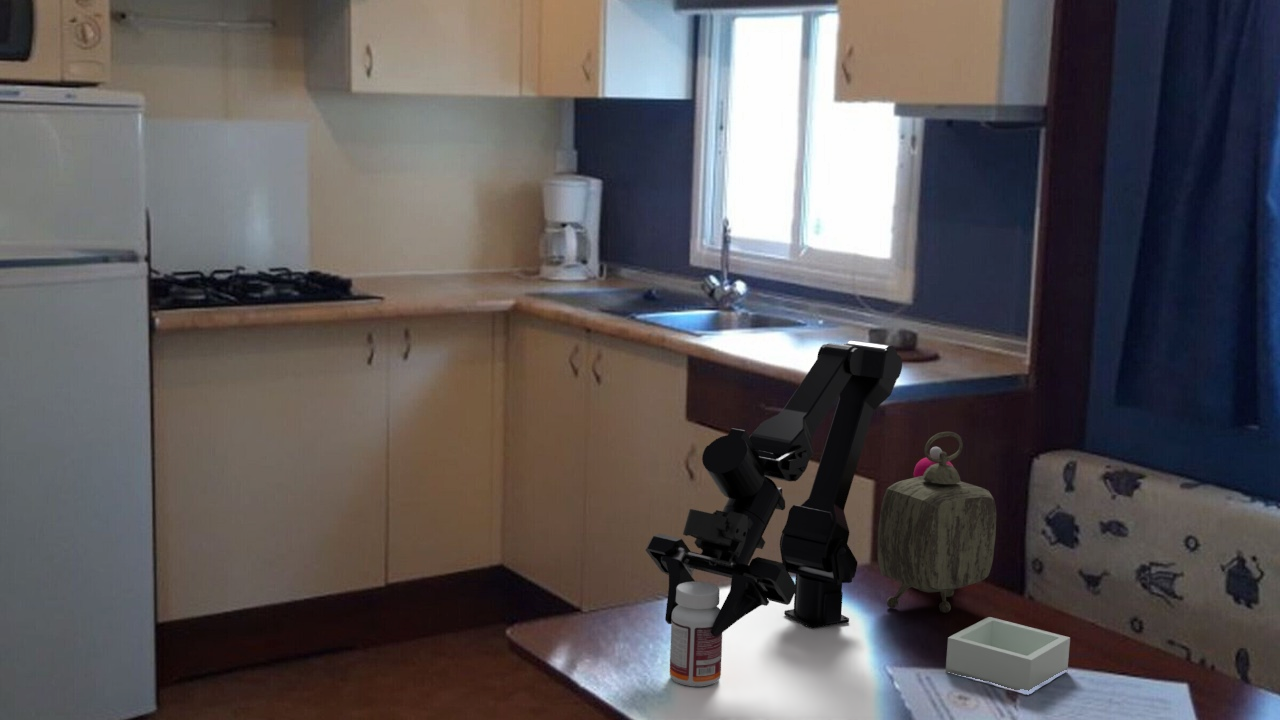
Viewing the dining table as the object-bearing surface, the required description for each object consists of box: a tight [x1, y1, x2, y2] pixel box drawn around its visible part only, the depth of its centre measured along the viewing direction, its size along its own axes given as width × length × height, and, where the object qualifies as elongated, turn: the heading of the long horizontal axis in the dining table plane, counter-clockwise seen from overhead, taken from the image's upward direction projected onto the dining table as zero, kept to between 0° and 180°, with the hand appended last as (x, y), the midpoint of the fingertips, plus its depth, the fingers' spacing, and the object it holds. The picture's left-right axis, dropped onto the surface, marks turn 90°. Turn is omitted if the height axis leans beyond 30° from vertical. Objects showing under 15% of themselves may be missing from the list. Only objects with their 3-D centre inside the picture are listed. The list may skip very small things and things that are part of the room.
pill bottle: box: [669, 581, 723, 688], centre depth 187 cm, size 6×6×11 cm
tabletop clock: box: [877, 431, 997, 614], centre depth 215 cm, size 14×9×25 cm, turn 124°
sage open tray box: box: [945, 616, 1071, 691], centre depth 193 cm, size 11×11×4 cm
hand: (690, 628), depth 185 cm, fingers closed on pill bottle, 6 cm apart
